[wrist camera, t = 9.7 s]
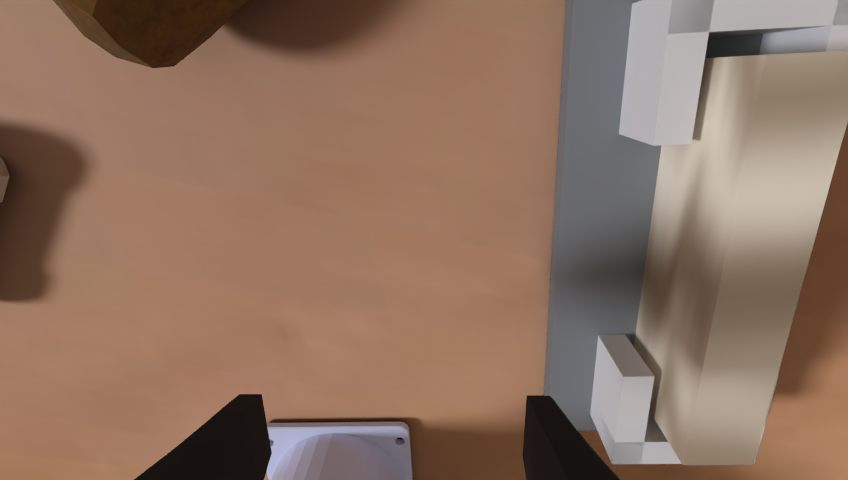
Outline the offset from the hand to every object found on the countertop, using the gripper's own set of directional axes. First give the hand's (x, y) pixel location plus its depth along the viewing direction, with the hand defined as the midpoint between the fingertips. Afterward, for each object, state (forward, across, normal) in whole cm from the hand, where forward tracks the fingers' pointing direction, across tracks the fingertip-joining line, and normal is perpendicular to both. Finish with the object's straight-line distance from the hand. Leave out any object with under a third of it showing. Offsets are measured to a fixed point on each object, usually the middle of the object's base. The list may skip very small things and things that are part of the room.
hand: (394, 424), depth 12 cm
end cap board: (+9, -11, -2) cm, 15 cm away
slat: (+8, -11, -2) cm, 14 cm away
